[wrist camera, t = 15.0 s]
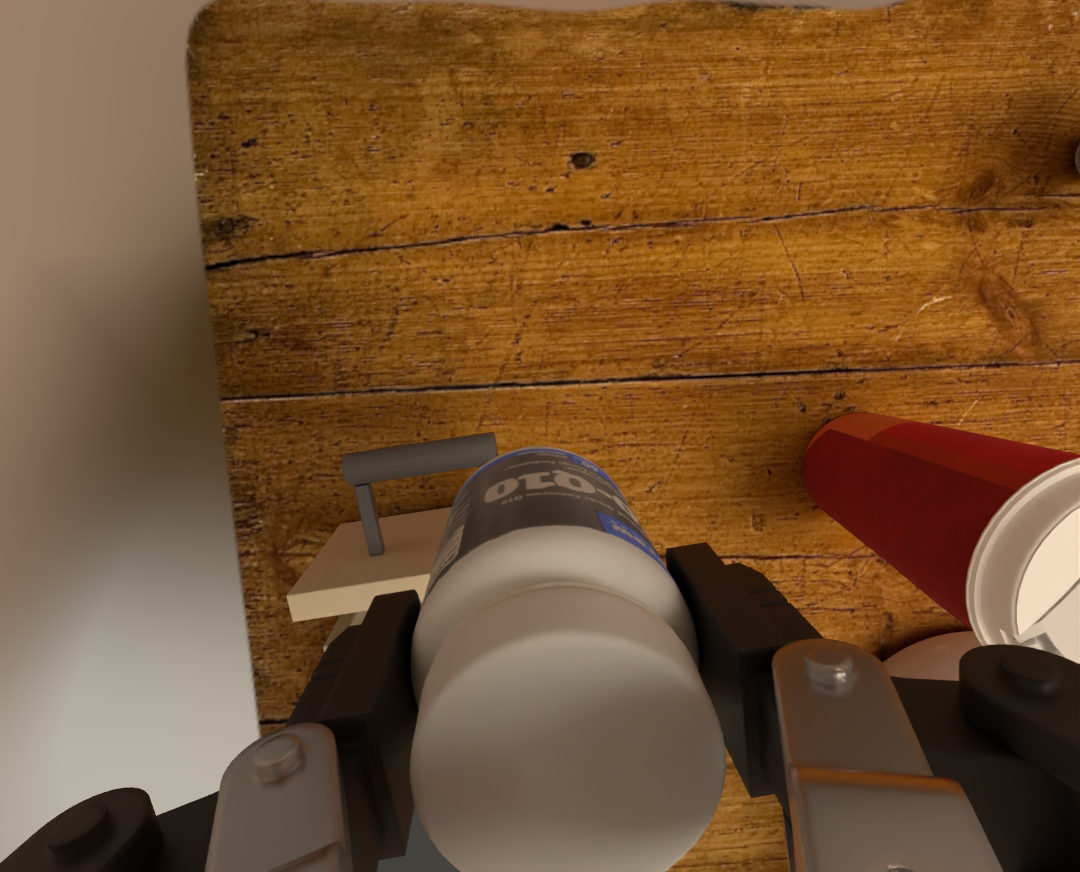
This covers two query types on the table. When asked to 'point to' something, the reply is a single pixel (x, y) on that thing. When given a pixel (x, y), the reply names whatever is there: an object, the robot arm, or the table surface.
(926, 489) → the coffee cup
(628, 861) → the pill bottle
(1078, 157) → the light bulb
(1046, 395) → the table surface
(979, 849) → the robot arm
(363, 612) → the storage drawer
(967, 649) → the teapot
